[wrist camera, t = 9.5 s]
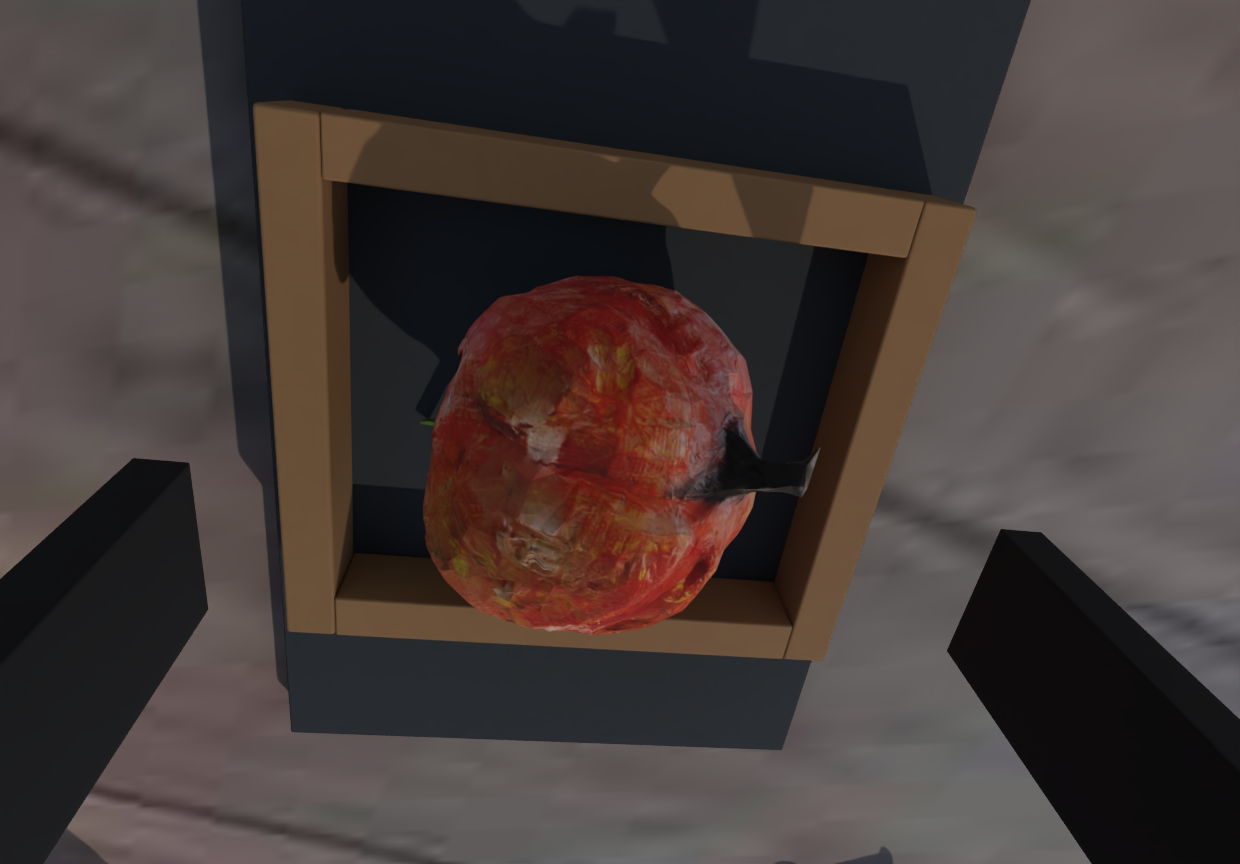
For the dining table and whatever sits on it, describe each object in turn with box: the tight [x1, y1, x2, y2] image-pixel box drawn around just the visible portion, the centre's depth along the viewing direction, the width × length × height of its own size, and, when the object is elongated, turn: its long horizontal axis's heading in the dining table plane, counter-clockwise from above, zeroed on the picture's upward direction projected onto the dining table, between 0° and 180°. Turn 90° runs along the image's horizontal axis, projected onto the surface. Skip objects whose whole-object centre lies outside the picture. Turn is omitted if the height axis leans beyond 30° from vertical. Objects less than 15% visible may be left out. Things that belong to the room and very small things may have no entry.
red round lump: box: [420, 276, 820, 635], centre depth 15 cm, size 7×7×10 cm
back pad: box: [241, 0, 1031, 750], centre depth 18 cm, size 24×16×3 cm, turn 172°
